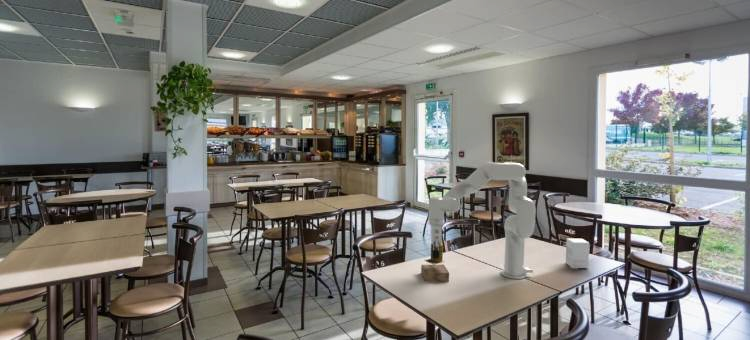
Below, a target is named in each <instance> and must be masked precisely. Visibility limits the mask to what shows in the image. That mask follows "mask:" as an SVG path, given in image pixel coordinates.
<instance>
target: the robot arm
mask: <svg viewBox="0 0 750 340" xmlns="http://www.w3.org/2000/svg"><path fill="white" fill-rule="evenodd" d="M526 173H527V170H526V167H525V166H524V165H523V164H521V163H518V162H514V161H504V162H503V163H501V162H494V161H485V162H483V163H482V164H481V165H480V166H479V167H477V169H475V170H474V171H473V172H472V173H471V174H470V175H469V176H467V178H466V179H463V180H462V181H461V182H459V183H458V184H456V185H454V186H453V187H451V188H450V189H449V190H448V191H447V192H446V193H445V194H444V195H443V196H442V197H441V196H432V197H429V200H428V225H430V243H432V244H433V254H432V257H433V258H439V244H440V245H441V244H443V238H442V237H443V231H442V226H444V216H445V215H444V212H445V213H451V214H452V213H453V214H454V213H457V212H459V210H460V209H461V207H462V204H461V202H460V200H461V199H463V198H464V197H466V196H467V195H472V194H476V193H478V192H479V191H480V190H481V189H482V188H483V187H484V186H485V185H486V184H488V183H489V182H490V181H491V180H492V181H507V182H508V184H509V191H508V192H509V195H508V204H507V206H508V209H509V211H510V212H512V213H514V214H513V215H512V214H511V215H509V216H508V217H506V219H505V221H504V225H503V226H504V227H503V228H504V235H505V236H504V237H505V242H504V243H505V244H504V261H503V262H504V265H503V266H504V267H503V269H501V271H500V274H501V275H502V276H503V277H505V278H508V279H512V280H513V279H514V280H523V279H526V277H527V274H528V273H530V274H532V273H534V270H533V268H529V267H525V266H524V264H525V262H524V261H525V239H529V238H530V237H531V236H533V234H534V232H535V225H536V213H537V212H536V211H537V209H536V204H535V202H534V201H533V200H532V199H531V198H529V197H528V183H527V179H526ZM434 243H435V244H434ZM434 245H435V247H434Z"/></svg>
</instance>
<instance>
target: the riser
mask: <svg viewBox="0 0 750 340" xmlns="http://www.w3.org/2000/svg"><path fill="white" fill-rule="evenodd" d="M420 269H421V270H420V271H421V275H422V279H423V280H424V282H425V283H449V281H450V272H449V271H448V268H446V266H445V264H435V265H433V264H421V268H420Z"/></svg>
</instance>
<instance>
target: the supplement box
mask: <svg viewBox="0 0 750 340" xmlns="http://www.w3.org/2000/svg"><path fill="white" fill-rule="evenodd" d="M565 243H566V245H565V264H566V263H567V264H568V265H569V266H568V265H567V264H566V265H567V266H568V267H569V268H571V269H578V268H588V269H589V260H590V259H589V258H590V257H589V255H590V242H589V241H587V240H585V239H584V238H566V242H565Z"/></svg>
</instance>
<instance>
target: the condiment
mask: <svg viewBox="0 0 750 340" xmlns="http://www.w3.org/2000/svg"><path fill="white" fill-rule="evenodd" d="M430 243H431V244H430V258H428V259H424V262H427V263H428V264H430V265H439V264H442V263H446V262H447V261H445V260H443V257H444V255H443V252H444V251H443V250H444V244H443V243H442V244H441V245H440V244H439V258H433V257H432V254H433V244H432V242H430ZM434 244H435V243H434ZM434 247H435V245H434Z"/></svg>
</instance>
